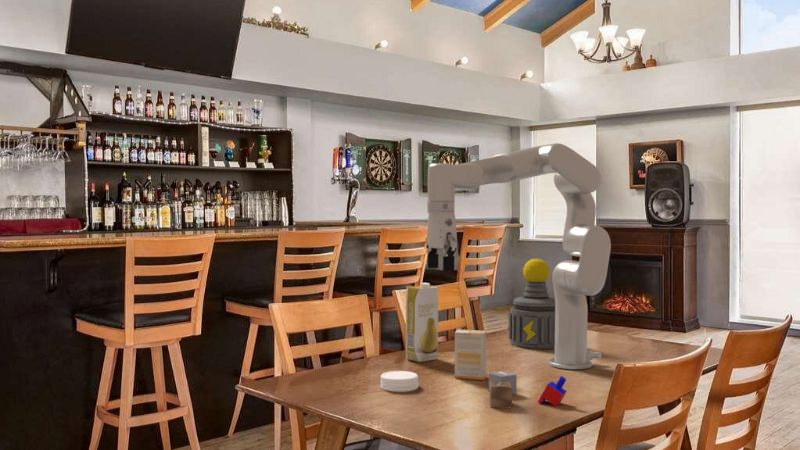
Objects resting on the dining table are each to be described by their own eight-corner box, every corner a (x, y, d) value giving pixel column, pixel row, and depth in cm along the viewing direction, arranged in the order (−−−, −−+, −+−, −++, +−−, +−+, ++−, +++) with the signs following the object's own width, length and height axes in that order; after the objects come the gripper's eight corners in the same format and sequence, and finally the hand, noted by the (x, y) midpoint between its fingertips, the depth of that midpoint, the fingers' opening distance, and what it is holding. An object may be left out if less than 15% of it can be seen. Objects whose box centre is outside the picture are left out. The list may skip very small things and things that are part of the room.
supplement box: (487, 377, 196) (487, 330, 196) (483, 381, 191) (483, 333, 191) (458, 374, 199) (458, 328, 198) (454, 378, 194) (454, 331, 194)
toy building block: (552, 412, 168) (568, 384, 166) (537, 402, 169) (552, 374, 167) (556, 408, 171) (572, 381, 169) (542, 398, 173) (557, 371, 171)
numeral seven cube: (510, 402, 171) (510, 381, 170) (511, 408, 166) (512, 386, 166) (489, 402, 171) (489, 381, 171) (490, 407, 166) (490, 386, 166)
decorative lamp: (502, 346, 239) (503, 259, 239) (515, 337, 257) (516, 256, 256) (557, 351, 232) (558, 261, 231) (567, 341, 249) (568, 257, 249)
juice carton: (419, 363, 212) (420, 284, 212) (402, 359, 218) (402, 282, 218) (441, 359, 219) (442, 282, 218) (424, 355, 224) (424, 280, 224)
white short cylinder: (374, 385, 187) (374, 372, 187) (409, 381, 191) (409, 369, 191) (389, 394, 178) (389, 380, 178) (424, 390, 182) (424, 377, 182)
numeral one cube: (503, 389, 183) (504, 370, 183) (516, 394, 178) (516, 374, 178) (488, 392, 180) (488, 372, 180) (500, 396, 176) (501, 376, 176)
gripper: (467, 208, 188) (467, 271, 189) (439, 208, 204) (438, 266, 205) (442, 208, 186) (442, 272, 186) (415, 208, 201) (415, 267, 202)
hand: (440, 269), depth 195 cm, fingers open, 9 cm apart
